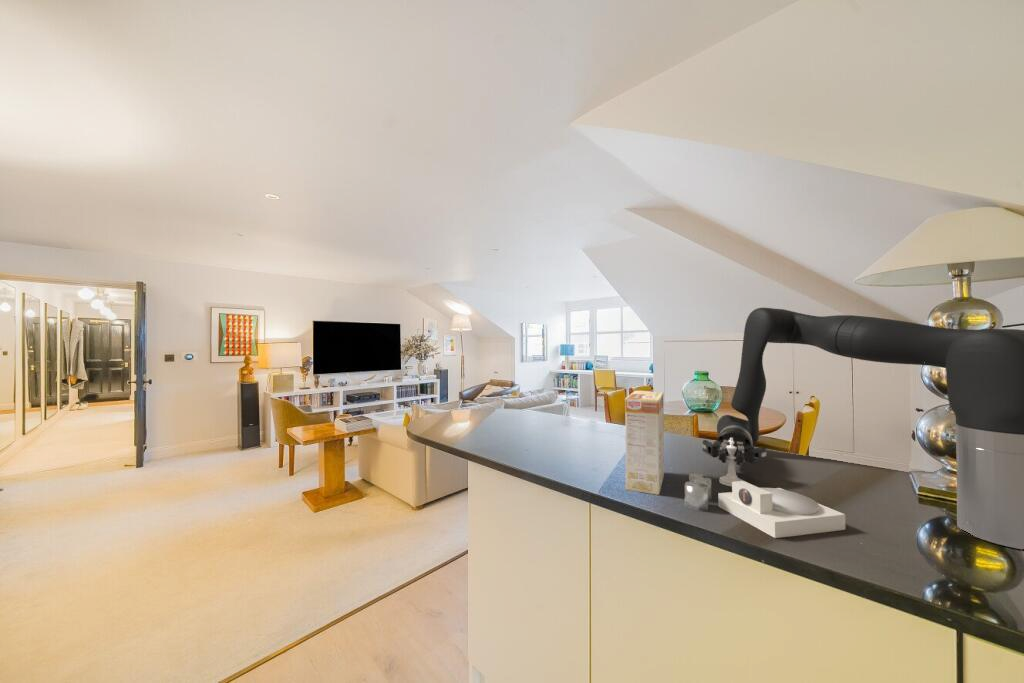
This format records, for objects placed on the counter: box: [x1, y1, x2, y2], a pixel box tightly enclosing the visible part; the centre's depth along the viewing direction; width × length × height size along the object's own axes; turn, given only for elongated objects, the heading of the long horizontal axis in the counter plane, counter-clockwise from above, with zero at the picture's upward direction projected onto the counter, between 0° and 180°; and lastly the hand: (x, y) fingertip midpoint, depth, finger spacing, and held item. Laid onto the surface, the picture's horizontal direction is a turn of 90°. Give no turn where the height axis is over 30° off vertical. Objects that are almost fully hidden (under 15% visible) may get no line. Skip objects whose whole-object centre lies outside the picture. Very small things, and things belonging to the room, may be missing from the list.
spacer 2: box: [684, 481, 709, 512], centre depth 71 cm, size 4×4×4 cm
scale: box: [717, 480, 846, 539], centre depth 67 cm, size 14×12×6 cm
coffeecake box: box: [624, 390, 665, 496], centre depth 85 cm, size 15×7×20 cm, turn 154°
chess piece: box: [718, 438, 744, 488], centre depth 83 cm, size 5×5×10 cm
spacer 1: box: [688, 472, 712, 501], centre depth 76 cm, size 4×4×4 cm
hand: (731, 459), depth 81 cm, fingers closed on chess piece
